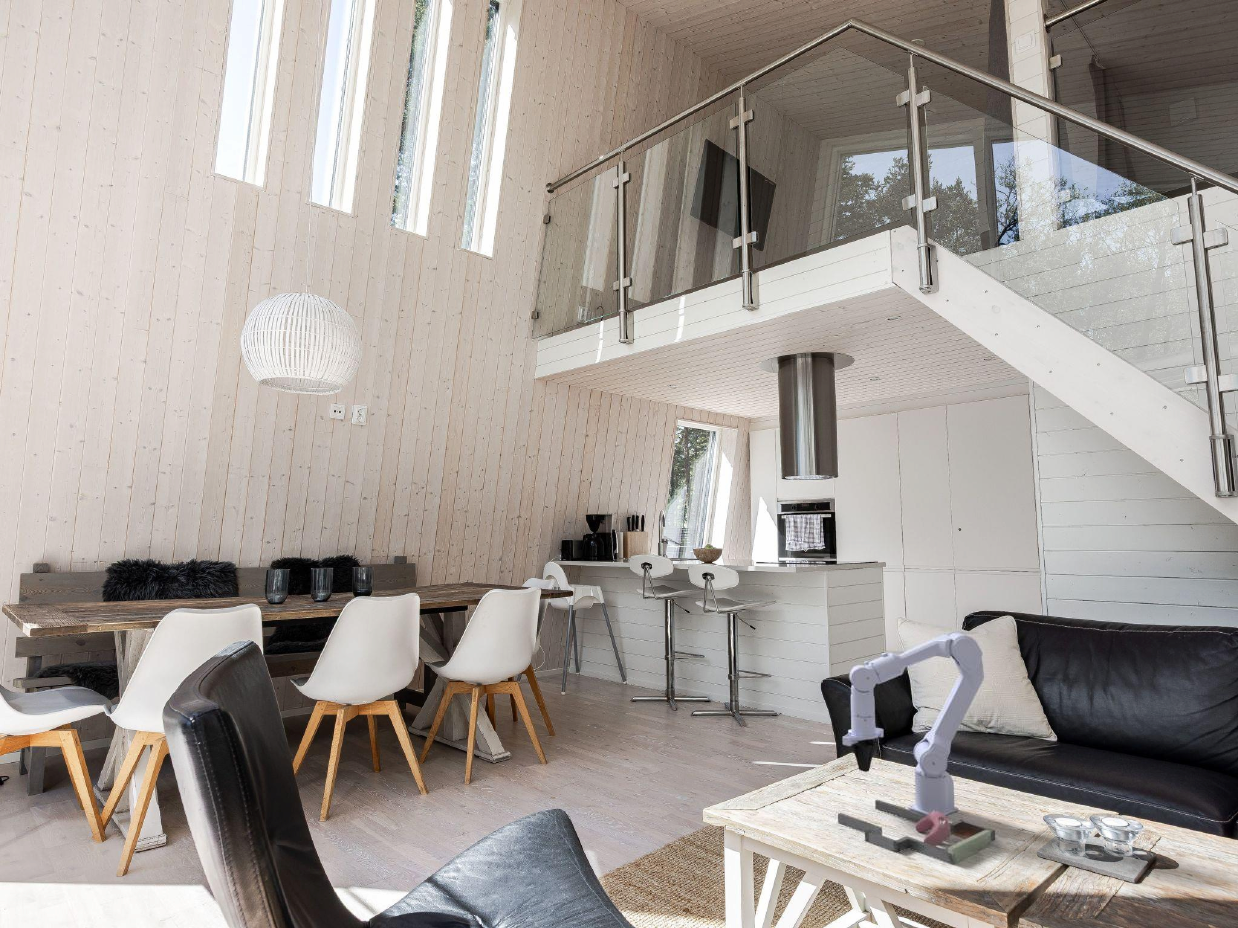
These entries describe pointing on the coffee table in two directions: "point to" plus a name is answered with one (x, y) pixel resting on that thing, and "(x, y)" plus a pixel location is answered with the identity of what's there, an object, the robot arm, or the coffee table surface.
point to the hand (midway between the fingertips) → (864, 770)
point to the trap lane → (973, 842)
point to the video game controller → (934, 828)
